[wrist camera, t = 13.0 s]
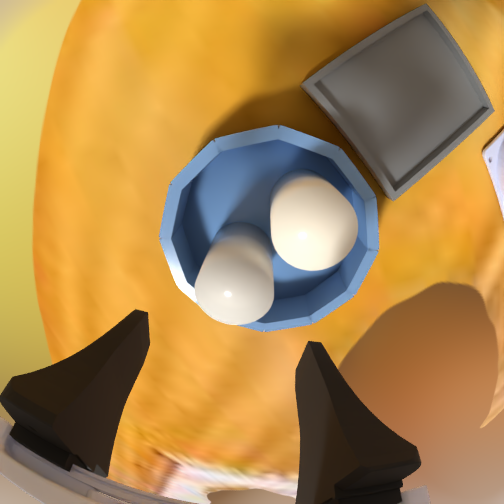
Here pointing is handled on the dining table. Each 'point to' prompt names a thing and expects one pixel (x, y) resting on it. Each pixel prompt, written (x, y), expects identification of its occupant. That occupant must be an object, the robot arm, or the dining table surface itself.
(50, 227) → the dining table surface
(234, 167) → the bowl
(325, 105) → the tray
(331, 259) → the white rounded capsule
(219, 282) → the cylinder
